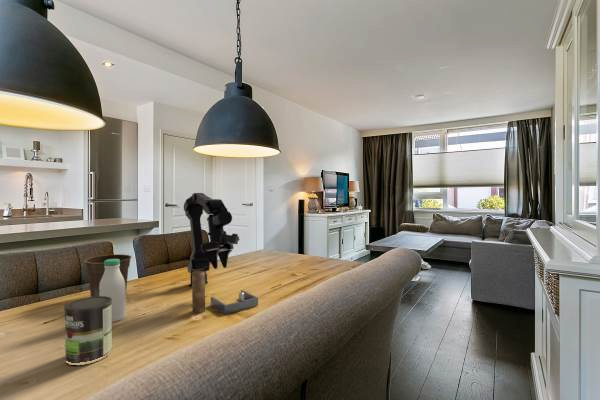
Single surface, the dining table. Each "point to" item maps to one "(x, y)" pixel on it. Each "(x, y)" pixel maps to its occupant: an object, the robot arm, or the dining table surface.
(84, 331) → the coffee can
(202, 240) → the robot arm
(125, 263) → the plant pot
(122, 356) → the dining table surface
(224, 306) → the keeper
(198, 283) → the peg
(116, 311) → the milk bottle
